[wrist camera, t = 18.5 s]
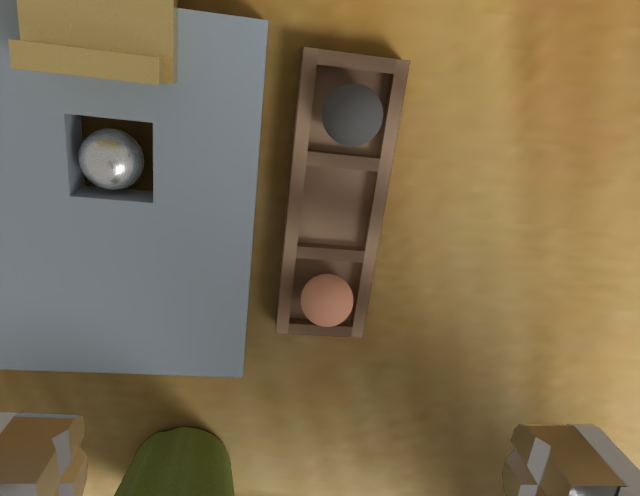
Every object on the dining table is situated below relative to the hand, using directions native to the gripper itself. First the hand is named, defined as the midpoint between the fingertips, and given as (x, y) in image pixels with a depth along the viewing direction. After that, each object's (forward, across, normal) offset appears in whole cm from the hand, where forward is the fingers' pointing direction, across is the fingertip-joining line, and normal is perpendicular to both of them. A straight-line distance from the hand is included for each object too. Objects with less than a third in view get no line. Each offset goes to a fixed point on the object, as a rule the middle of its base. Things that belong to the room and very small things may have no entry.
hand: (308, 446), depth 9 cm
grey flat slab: (+23, +10, +2) cm, 25 cm away
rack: (+23, -3, +1) cm, 23 cm away
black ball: (+22, -3, -5) cm, 23 cm away
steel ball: (+22, +10, -1) cm, 25 cm away
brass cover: (+20, +10, -9) cm, 24 cm away
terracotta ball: (+22, -3, +7) cm, 23 cm away
